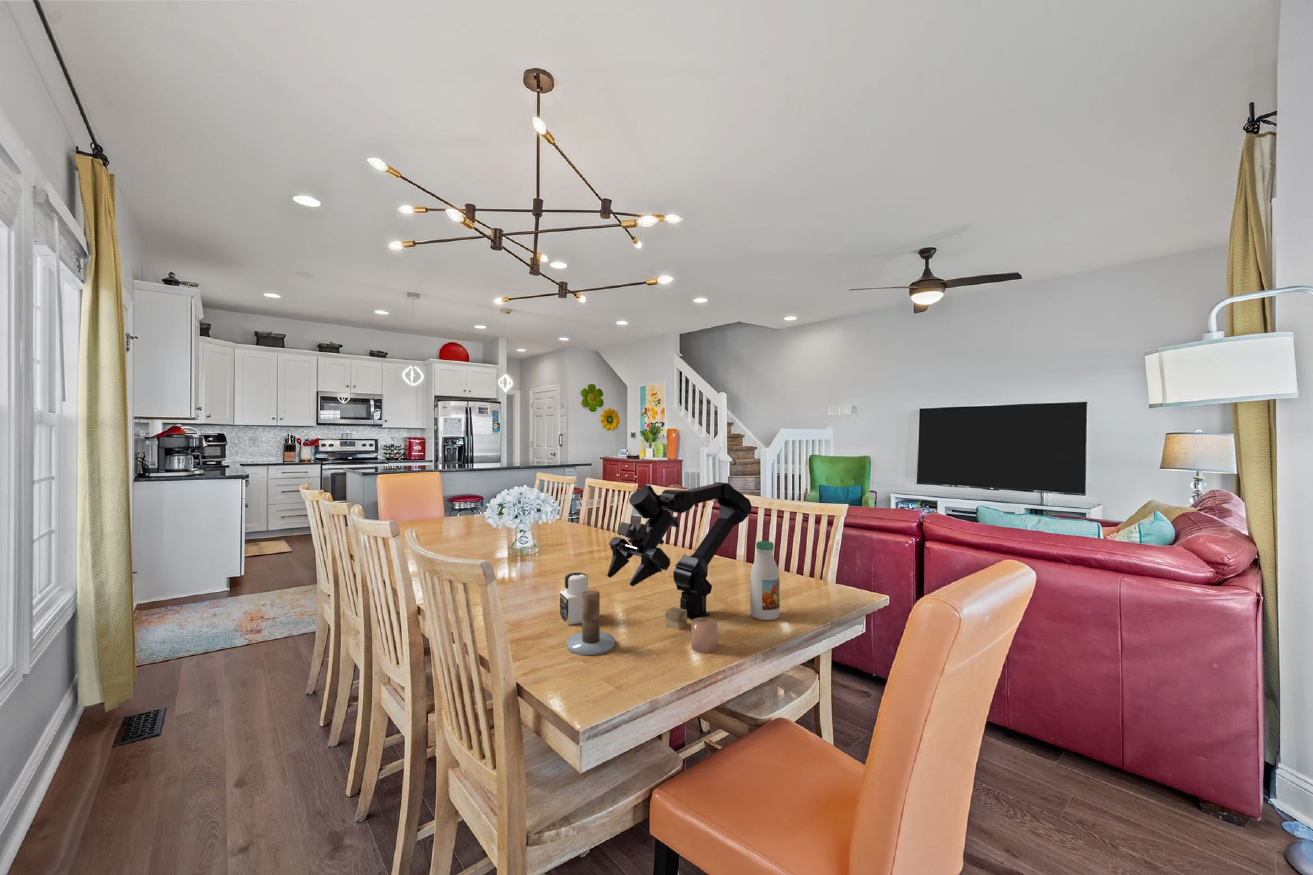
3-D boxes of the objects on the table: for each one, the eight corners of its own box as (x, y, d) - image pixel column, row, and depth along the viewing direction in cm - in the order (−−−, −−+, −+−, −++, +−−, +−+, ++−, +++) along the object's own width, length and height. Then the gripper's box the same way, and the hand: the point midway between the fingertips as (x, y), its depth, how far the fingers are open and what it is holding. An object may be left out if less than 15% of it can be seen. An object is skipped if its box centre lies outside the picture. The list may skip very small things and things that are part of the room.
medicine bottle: (559, 617, 142) (559, 572, 142) (584, 612, 145) (584, 569, 145) (567, 625, 135) (567, 579, 135) (593, 621, 139) (593, 575, 138)
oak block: (673, 622, 138) (673, 606, 138) (686, 625, 136) (686, 609, 136) (665, 626, 135) (665, 611, 135) (678, 629, 132) (678, 614, 132)
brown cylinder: (599, 636, 125) (599, 590, 125) (600, 642, 121) (600, 595, 121) (582, 637, 124) (582, 591, 124) (582, 644, 120) (582, 596, 120)
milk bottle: (750, 620, 139) (750, 544, 139) (750, 610, 147) (750, 539, 146) (780, 621, 138) (780, 545, 138) (778, 612, 145) (778, 539, 145)
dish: (600, 633, 130) (600, 628, 130) (623, 647, 121) (623, 642, 121) (559, 643, 124) (559, 637, 124) (580, 659, 115) (580, 653, 115)
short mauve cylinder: (706, 640, 125) (706, 615, 125) (723, 649, 120) (723, 623, 120) (686, 646, 122) (686, 620, 122) (702, 655, 117) (702, 628, 117)
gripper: (614, 505, 138) (578, 554, 131) (661, 514, 124) (623, 569, 117) (638, 532, 143) (604, 579, 136) (685, 543, 129) (650, 597, 122)
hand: (619, 580), depth 127 cm, fingers open, 9 cm apart
